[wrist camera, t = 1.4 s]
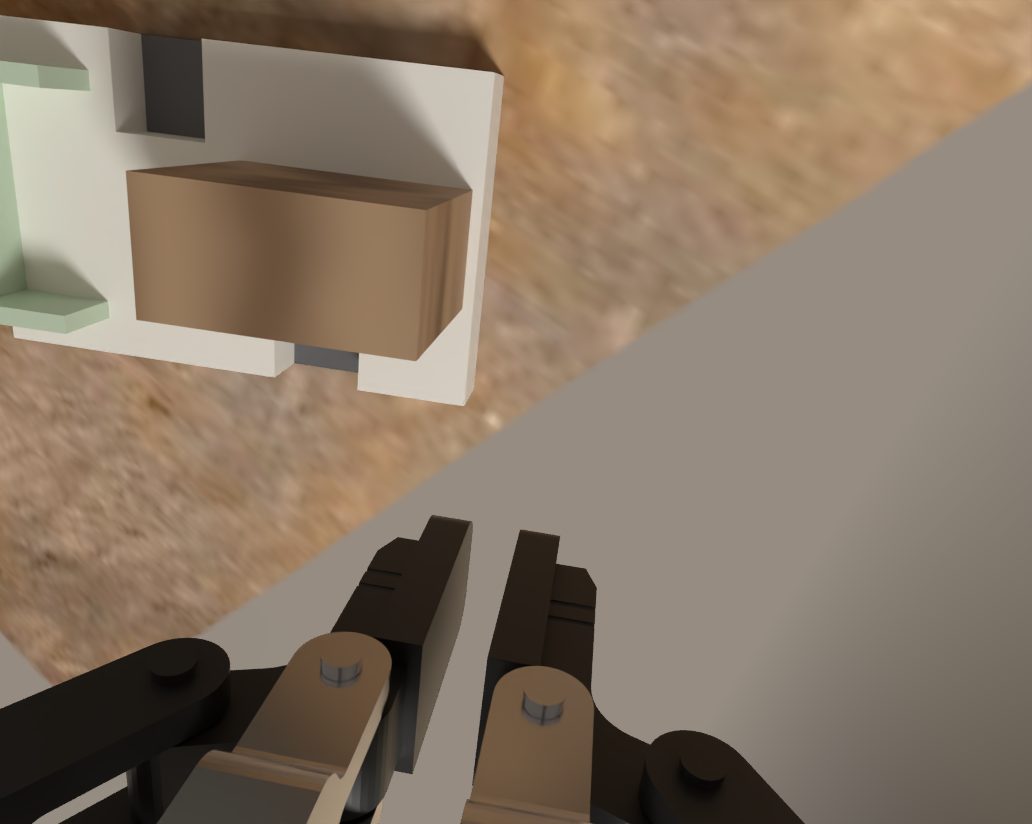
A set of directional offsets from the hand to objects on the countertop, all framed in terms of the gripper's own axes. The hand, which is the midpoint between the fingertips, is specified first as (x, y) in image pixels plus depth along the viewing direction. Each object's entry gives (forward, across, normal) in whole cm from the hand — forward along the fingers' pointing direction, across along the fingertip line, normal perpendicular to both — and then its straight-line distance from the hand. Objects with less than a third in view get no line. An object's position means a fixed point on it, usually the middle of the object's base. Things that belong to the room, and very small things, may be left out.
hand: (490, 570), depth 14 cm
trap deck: (+23, +15, -2) cm, 28 cm away
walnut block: (+21, +10, -2) cm, 23 cm away
